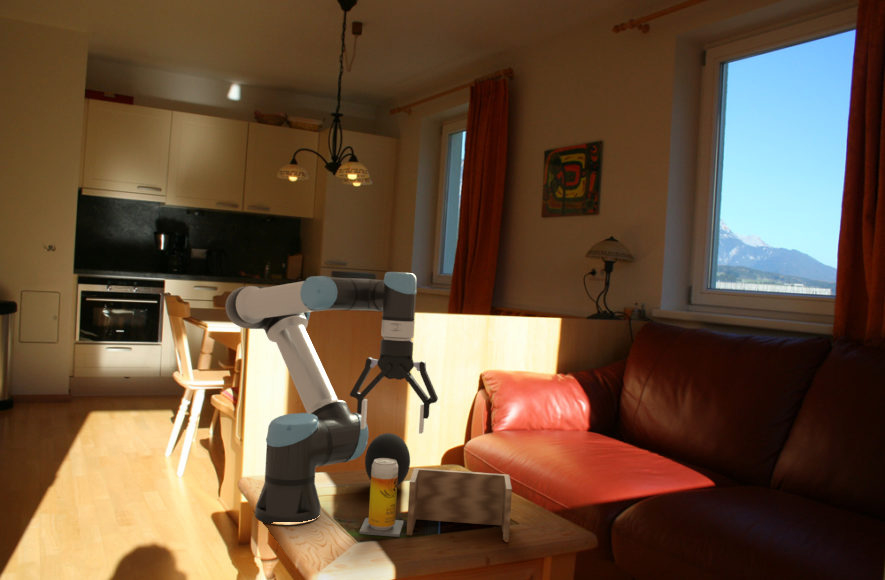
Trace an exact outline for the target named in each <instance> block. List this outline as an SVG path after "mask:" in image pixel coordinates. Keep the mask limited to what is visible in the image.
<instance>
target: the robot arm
mask: <svg viewBox="0 0 885 580" xmlns="http://www.w3.org/2000/svg"><path fill="white" fill-rule="evenodd" d="M416 301H417V276H416V275H415V274H414V273H411V272H402V271H401V272H399V271H387V272H385V274H384V278H383V279H373V278H372V279H371V278H355V277H354V278H352V277H335V276H327V275H317V276H315V275H313V276H309V277H307V278H306V279H305V280H303V281H302V280H301V281H297V282H292V283H291V282H290V283H285V284H284V283H283V284H280V285H274V286H258V285H257V286H256V285H248V286H246V285H245V286H241V287H238V288H236V289H234V290H233V291H231V293H230V294H228V297H226V301H225V313H226V315H227V317H228V319H229V320H230V322H232V324H234V325H236V326H237V327H239V328H243V329H248V330H249V329H250V330H264V331H265V335H266V337H267V339H268V340H269V341H270V342H272V343H276V346H277V348H278V350H279V353H280V354H281V357H282V360H283V361H284V364H285V366H286V367H287V370H288V373H289V374H290V377H291V380H292V382H293V384H294V387H295V389H296V391H297V393H298V395H299V398H300V400H301V402H302V405H303V408H304V409H305V412H298V413H296V412H295V413H287V414H283V415H279V416H278V417H275V418H274V419H272V420H271V421H270V423H269V425H268V428H267V434H266V439H265V442H266V453H265V472H264V483H263V486H262V488H261V490H260V491H261V492H260V494H259V497H258V498H257V499H258V500H257V502H256V504H255V513H254V514H255V515H254V517H255V519H257V520H258V521H259V522H262V523H264V524H266V525H272V524H271V523H273V522H303V521H308V520H312V519H315V518H317V517H318V516H319V515H320V516H321V508H322V507H321V505H322V504H321V502H320V499H319V493H318V490H317V487H316V483H315V482H316V468H318V467H323V466H329V465H335V464H340V463H347V462H349V461H353V460H357V459H358V458H359V457H361V456H362V455H363V454H364V452H365V451H366V450H367V446H368V439H369V427H368V423H367V417H368V416H367V415H368V414H367V413H368V399H367V398H365V397H366V396H367V395H368V394H369V393H371V392H372V390H373V389H374V388H375V387H376V386H377V385H378V384H379V383H380V382H381V381H382V379H384V378H386V379H387V380H393V379H395V380H398V381H399V380H400V381H401V380H403V379H404V380H405V381H406V382H407V383H408V384H409V385H410V386H411V388H412V389H413V391H414V393H416V395H417V396H418V398H419V399H420V400H421V401H422V402H421V404H420V405H419V407H420V408H419V425H418V434H421V435H422V434H423V433H424V430H425V429H424V428H425V426H424V425H425V419H429V417H430V405H431V404H434V403H437V402H438V400H439V398H438V395H437V392H436V390H435V388H434V386H433V383H432V382H431V379H430V376H429V374H428V371H427V364H426V361H425V360H421V361H414V359H413V356H414V355H413V351H414V341H413V340H412V339H413V338H414V336H415V335H414V334H415V315H416V311H415V310H416ZM342 310H344V311H370V312H371V311H373V312H381V313H382V316H381V329H380V331H381V332H380V333H381V334H380V336H381V337H382V339H381V340H380V349H379V350H380V351H379V357H378V359H376V358H373V357H371V356H370V357H367V358H366V360H365V365H364V368H363V370H362V372H361V374H360V376H359V377H358V379H357V381H356V382H355V384H354V386H353V387H352V389H351V391H350V393H349V396H350V397H351V398H355V399H356V400H357V404H356V405H357V407H356V412H351V410H350V407H349V405H348V403H347V402H346V401H345V400H341V399H339V398H338V396H337V394H336V391H335V390H334V388H333V386H332V383H331V381H330V379H329V377H328V375H327V373H326V370H325V368H324V366H323V364H322V362H321V359H320V357H319V355H318V353H317V352H316V349H315V347H314V344H313V343H312V340H311V338H310V336H309V334H308V332H307V328H308V325H309V321H310V320H309V319H310V317H311V316H310V315H311V313H312V312H323V311H342ZM376 365H377V366H378V369H380V372H379V373H378V374H377V375H376V376H375V378H374V379H372V381H371V382H370V383H369V384H368V385H367V386H366V387H364V389H363V390H362V391H361V392H359V391H360V390H361V387H362V386H363V384H364V383H365V380H367V377H368V375H369V374H370V372H371V370H372V369H373V368H375V366H376ZM413 368H416V371H417V372H419V373H420V377H421V379H422V380H423V383H424V386H425V388H426V390H427V393H428V395H429V396H428V395H427V394H426V392H425V391H424V390H423V388H422V387H421V386H420V385H419V383H418V382H417V380H416V379H415V377H414V376H413V374H412V373H411V371H412V370H413Z"/></svg>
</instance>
